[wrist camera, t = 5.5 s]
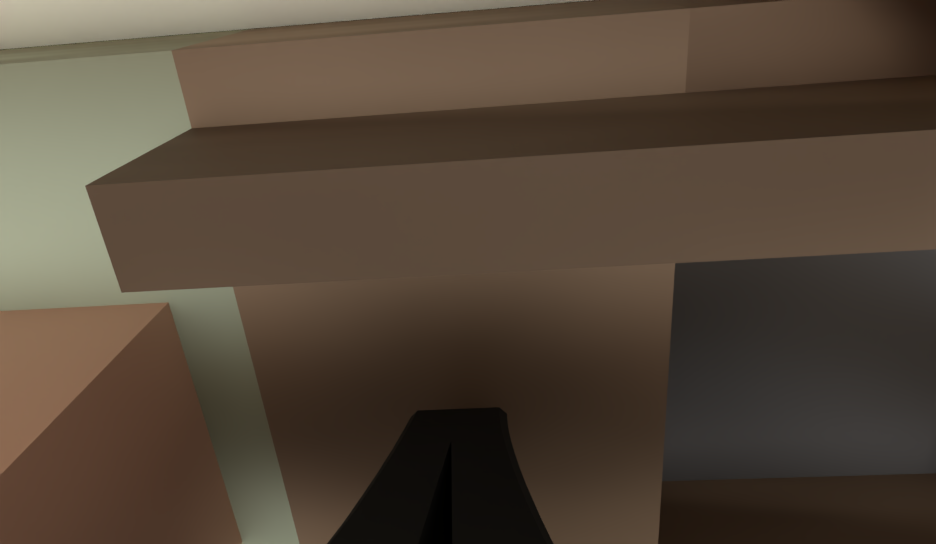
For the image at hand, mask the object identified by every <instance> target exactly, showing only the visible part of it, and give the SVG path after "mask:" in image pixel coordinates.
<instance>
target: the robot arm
mask: <svg viewBox="0 0 936 544" xmlns="http://www.w3.org/2000/svg"><path fill="white" fill-rule="evenodd" d="M327 544H554V543H553V541H552V540H551V538H550V536H549V533H548V531H547V529H546V527H545V525H544V523H543V521H542V519H541V517H540V515H539V512H538V510H537V508H536V506H535V503H534V501H533V499H532V497H531V494H530V492H529V490H528V487H527V485H526V483H525V480H524V478H523V475H522V472H521V470H520V467H519V464H518V461H517V458H516V455H515V452H514V449H513V445H512V442H511V438H510V434H509V429H508V420H507V413H506V412H504V411H503V410H502V409H501V408H500V407H492V408H467V409H442V410H417V411H416V412H415V413H414V414H413V415H412V416H411V418H410V419H409V421H408V423H407V425H406V427H405V428H404V430H403V432H402V434H401V435H400V437H399V439H398V441H397V442H396V444H395V446H394V447H393V449H392V451H391V452H390V454H389V455H388V457H387V459H386V460H385V462H384V463H383V465H382V466H381V468H380V470H379V471H378V473H377V474H376V476H375V477H374V479H373V480H372V482H371V483H370V485H369V486H368V488H367V489H366V491H365V492H364V493H363V495H362V496H361V498H360V499H359V501H358V502H357V504H356V505H355V507H354V508H353V510H352V511H351V512H350V514H349V515H348V517H347V518H346V519H345V521H344V522H343V523H342V525H341V526H340V527H339V529H338V530H337V531H336V533H335V534H334V535H333V537H332V538H331V539H330V540H329V542H328V543H327Z"/></svg>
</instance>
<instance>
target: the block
mask: <svg viewBox="0 0 936 544" xmlns="http://www.w3.org/2000/svg"><path fill="white" fill-rule="evenodd" d="M241 543H242V539H241V535H240V532H239V529H238V526H237V522H236V519H235V516H234V513H233V510H232V506H231V503H230V500H229V497H228V493H227V490H226V487H225V484H224V480H223V477H222V474H221V471H220V468H219V464H218V461H217V458H216V455H215V451H214V448H213V445H212V442H211V438H210V435H209V432H208V429H207V426H206V422H205V419H204V416H203V413H202V409H201V406H200V403H199V400H198V396H197V393H196V390H195V387H194V384H193V380H192V377H191V374H190V371H189V367H188V364H187V361H186V358H185V354H184V351H183V348H182V345H181V341H180V338H179V335H178V332H177V329H176V325H175V322H174V319H173V316H172V312H171V309H170V306H169V303H168V302H167V303H147V304H128V305H108V306H89V307H69V308H50V309H30V310H11V311H0V544H241Z"/></svg>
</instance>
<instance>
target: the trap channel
mask: <svg viewBox="0 0 936 544" xmlns="http://www.w3.org/2000/svg"><path fill="white" fill-rule="evenodd" d="M167 302H168V303H169V306H170V309H171V312H172V316H173V319H174V322H175V325H176V329H177V332H178V335H179V338H180V341H181V345H182V348H183V351H184V354H185V358H186V361H187V364H188V367H189V371H190V374H191V377H192V380H193V384H194V387H195V390H196V393H197V396H198V400H199V403H200V406H201V409H202V413H203V416H204V419H205V422H206V426H207V429H208V432H209V435H210V438H211V442H212V445H213V448H214V451H215V455H216V458H217V461H218V464H219V468H220V471H221V474H222V477H223V480H224V484H225V487H226V490H227V493H228V497H229V500H230V503H231V506H232V510H233V513H234V516H235V519H236V522H237V526H238V529H239V532H240V535H241V539H242V543H241V544H327V543H328V542H329V540H330V539H331V538H332V537H333V535H334V534H335V533H336V531H337V530H338V529H339V527H340V526H341V525H342V523H343V522H344V521H345V519H346V518H347V517H348V515H349V514H350V512H351V511H352V510H353V508H354V507H355V505H356V504H357V502H358V501H359V499H360V498H361V496H362V495H363V493H364V492H365V491H366V489H367V488H368V486H369V485H370V483H371V482H372V480H373V479H374V477H375V476H376V474H377V473H378V471H379V470H380V468H381V466H382V465H383V463H384V462H385V460H386V459H387V457H388V455H389V454H390V452H391V451H392V449H393V447H394V446H395V444H396V442H397V441H398V439H399V437H400V435H401V434H402V432H403V430H404V428H405V427H406V425H407V423H408V421H409V419H410V418H411V416H412V415H413V414H414V413H415V412H416V411H417V410H442V409H467V408H492V407H500V408H501V409H502V410H503V411H504V412H506V413H507V420H508V429H509V434H510V438H511V442H512V445H513V449H514V452H515V455H516V458H517V461H518V464H519V467H520V470H521V472H522V475H523V478H524V480H525V483H526V485H527V487H528V490H529V492H530V494H531V497H532V499H533V501H534V503H535V506H536V508H537V510H538V512H539V515H540V517H541V519H542V521H543V523H544V525H545V527H546V529H547V531H548V533H549V536H550V538H551V540H552V541H553V543H554V544H936V0H594V1H582V2H570V3H558V4H546V5H534V6H522V7H510V8H498V9H486V10H473V11H461V12H449V13H437V14H425V15H413V16H401V17H389V18H377V19H365V20H353V21H341V22H329V23H317V24H305V25H293V26H280V27H268V28H256V29H244V30H232V31H220V32H208V33H196V34H184V35H172V36H160V37H148V38H136V39H124V40H112V41H100V42H87V43H75V44H63V45H51V46H39V47H27V48H15V49H3V50H0V311H11V310H30V309H50V308H69V307H89V306H108V305H128V304H147V303H167Z"/></svg>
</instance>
